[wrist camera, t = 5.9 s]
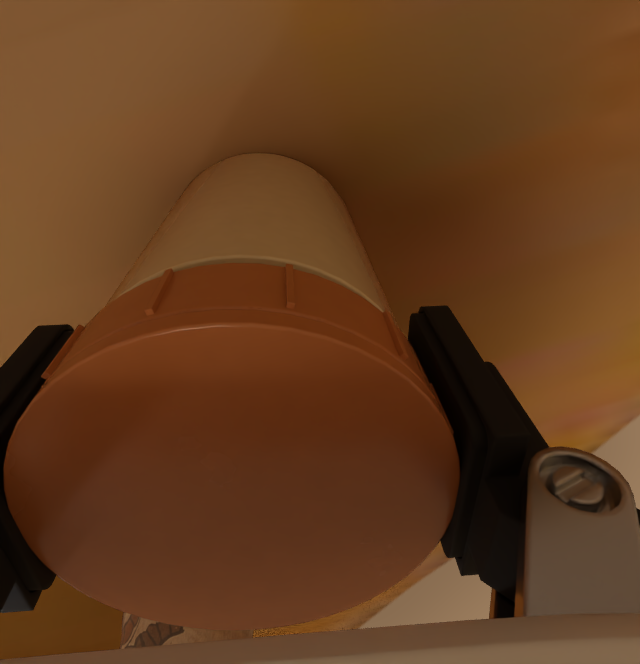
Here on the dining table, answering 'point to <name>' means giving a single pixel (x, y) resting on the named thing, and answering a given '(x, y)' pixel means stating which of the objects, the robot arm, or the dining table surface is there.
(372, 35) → the dining table surface
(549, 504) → the robot arm
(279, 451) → the jar lid
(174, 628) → the figurine
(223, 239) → the honey jar
